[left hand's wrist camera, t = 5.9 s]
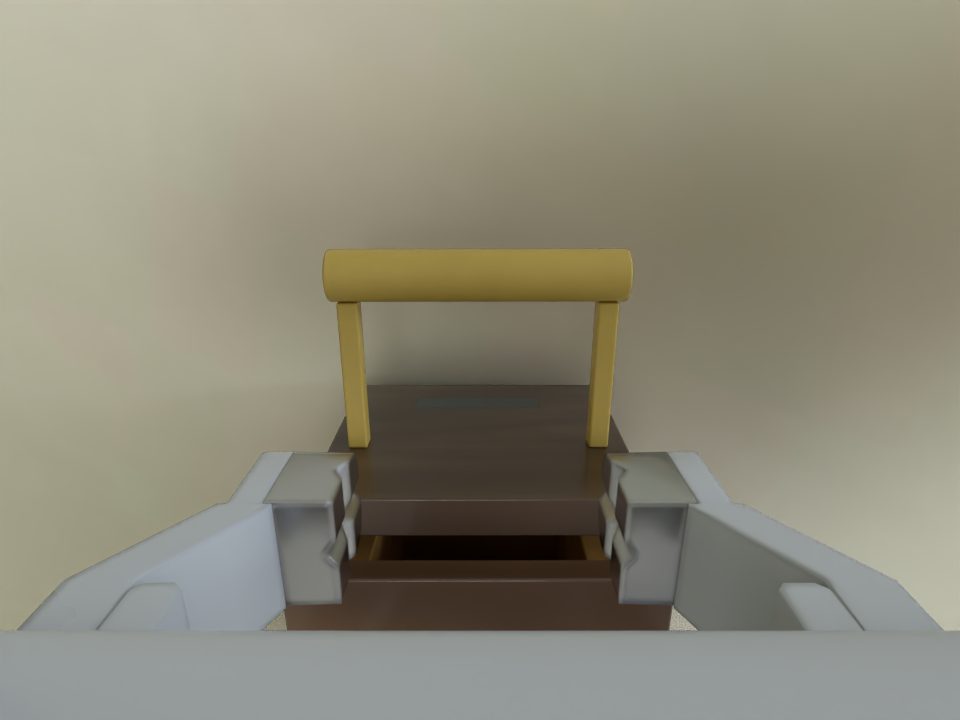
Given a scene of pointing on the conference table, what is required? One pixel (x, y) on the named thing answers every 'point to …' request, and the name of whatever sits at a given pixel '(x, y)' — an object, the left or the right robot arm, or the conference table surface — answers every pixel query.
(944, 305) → the conference table surface
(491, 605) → the cabinet
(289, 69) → the conference table surface
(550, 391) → the drawer
